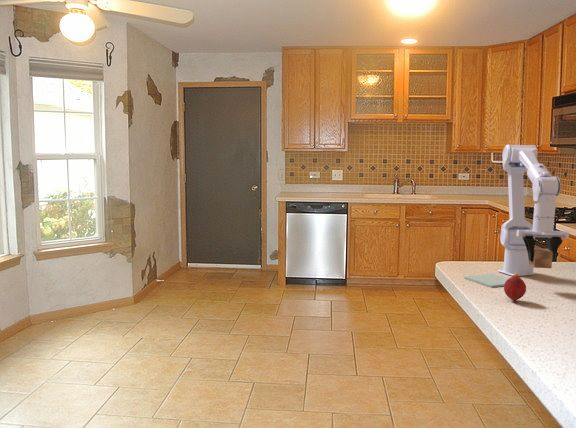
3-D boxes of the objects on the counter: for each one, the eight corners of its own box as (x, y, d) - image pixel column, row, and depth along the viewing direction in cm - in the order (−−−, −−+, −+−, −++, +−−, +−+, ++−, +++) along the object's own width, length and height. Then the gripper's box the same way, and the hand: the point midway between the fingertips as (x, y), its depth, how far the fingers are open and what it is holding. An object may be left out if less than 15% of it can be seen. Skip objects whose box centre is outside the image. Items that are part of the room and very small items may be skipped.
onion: (527, 304, 149) (529, 276, 148) (505, 303, 150) (507, 275, 149) (522, 298, 155) (524, 271, 154) (501, 297, 156) (503, 270, 155)
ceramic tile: (492, 275, 182) (492, 273, 182) (520, 284, 171) (520, 282, 171) (464, 278, 177) (464, 276, 177) (491, 287, 166) (491, 285, 166)
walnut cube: (534, 267, 162) (535, 251, 162) (528, 263, 167) (529, 248, 167) (551, 268, 162) (552, 251, 161) (545, 264, 167) (546, 248, 166)
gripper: (523, 217, 159) (519, 262, 161) (574, 219, 158) (570, 264, 160) (515, 214, 166) (512, 257, 168) (565, 216, 165) (561, 259, 167)
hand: (540, 260), depth 164 cm, fingers closed on walnut cube, 5 cm apart
